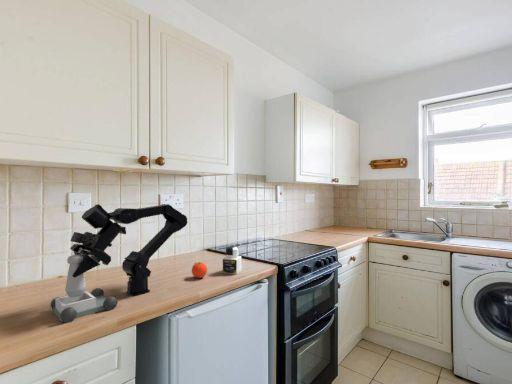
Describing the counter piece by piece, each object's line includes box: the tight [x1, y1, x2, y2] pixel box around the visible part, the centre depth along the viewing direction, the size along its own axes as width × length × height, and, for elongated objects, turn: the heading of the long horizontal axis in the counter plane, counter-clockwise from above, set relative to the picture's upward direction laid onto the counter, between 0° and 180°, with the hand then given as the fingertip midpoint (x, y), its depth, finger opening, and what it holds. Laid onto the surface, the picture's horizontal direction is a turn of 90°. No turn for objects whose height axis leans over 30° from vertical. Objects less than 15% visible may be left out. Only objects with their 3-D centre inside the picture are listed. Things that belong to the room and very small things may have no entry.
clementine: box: [191, 261, 208, 279], centre depth 129 cm, size 8×7×7 cm
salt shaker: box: [65, 254, 87, 297], centre depth 93 cm, size 6×6×13 cm
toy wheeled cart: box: [49, 287, 118, 323], centre depth 95 cm, size 16×14×4 cm
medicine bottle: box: [222, 246, 243, 275], centre depth 137 cm, size 7×7×12 cm
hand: (71, 275), depth 92 cm, fingers closed on salt shaker, 3 cm apart
